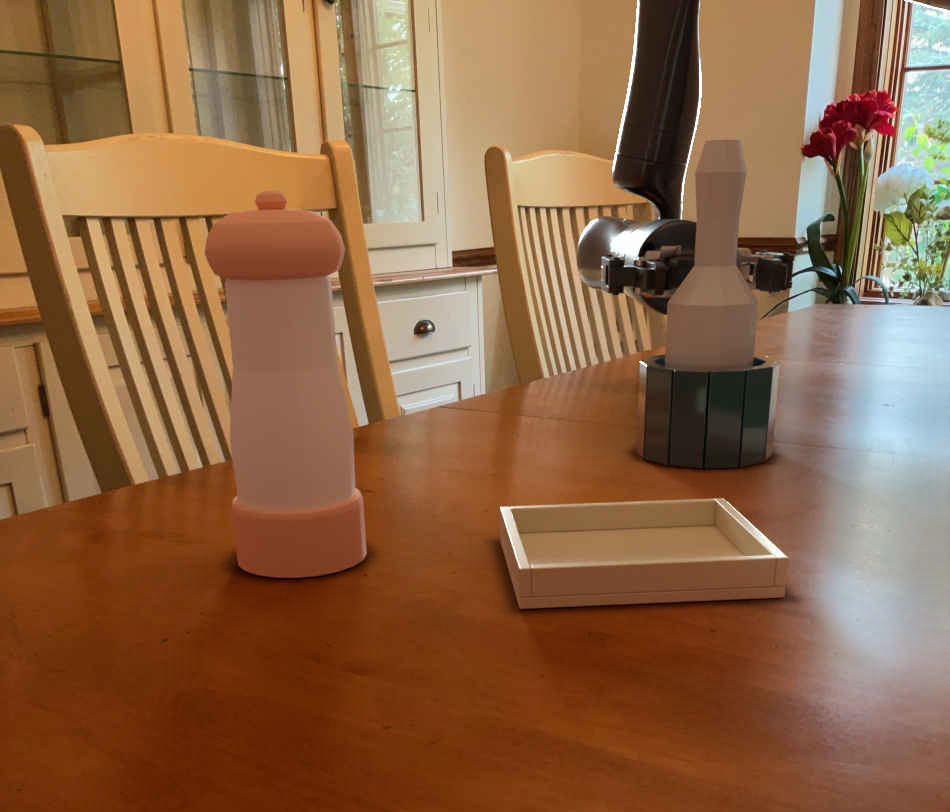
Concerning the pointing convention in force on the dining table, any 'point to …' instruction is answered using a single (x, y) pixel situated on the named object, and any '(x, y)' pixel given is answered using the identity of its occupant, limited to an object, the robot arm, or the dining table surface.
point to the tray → (637, 554)
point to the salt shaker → (287, 393)
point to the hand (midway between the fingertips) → (719, 278)
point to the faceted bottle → (714, 273)
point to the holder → (707, 414)
